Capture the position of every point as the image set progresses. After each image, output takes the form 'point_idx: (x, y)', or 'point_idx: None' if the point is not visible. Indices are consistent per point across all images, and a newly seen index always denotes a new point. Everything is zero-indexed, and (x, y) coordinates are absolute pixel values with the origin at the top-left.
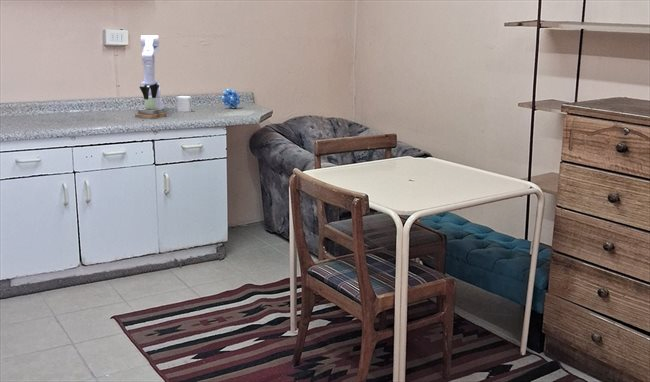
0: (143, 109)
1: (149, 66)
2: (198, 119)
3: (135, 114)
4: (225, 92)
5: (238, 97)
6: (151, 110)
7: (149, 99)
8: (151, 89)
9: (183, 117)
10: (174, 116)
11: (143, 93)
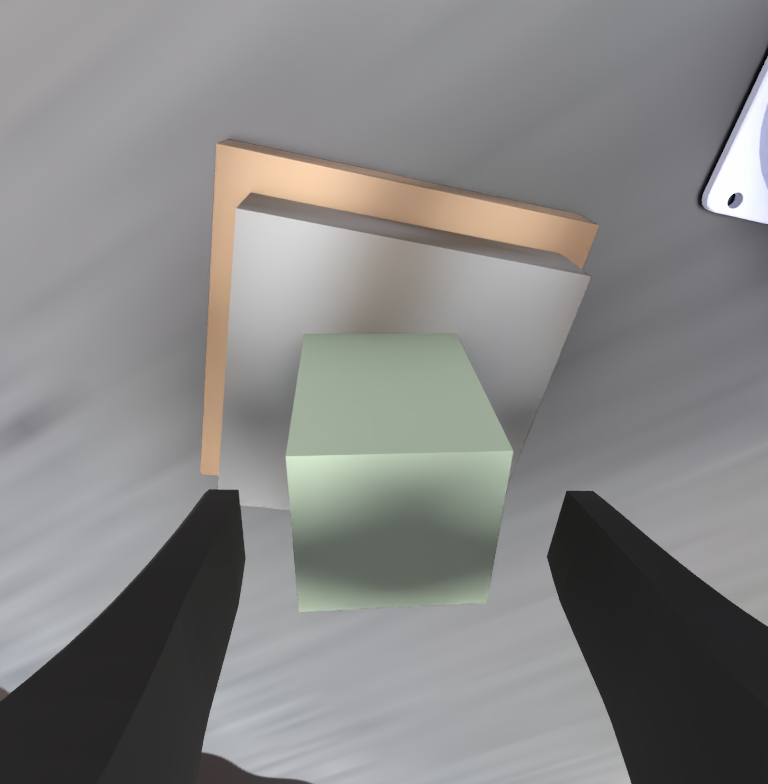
0: (281, 318)
1: None
2: (385, 740)
3: (216, 154)
4: None
5: None
6: (236, 486)
7: (295, 557)
8: (707, 693)
9: (455, 628)
10: (498, 544)
11: (133, 623)
